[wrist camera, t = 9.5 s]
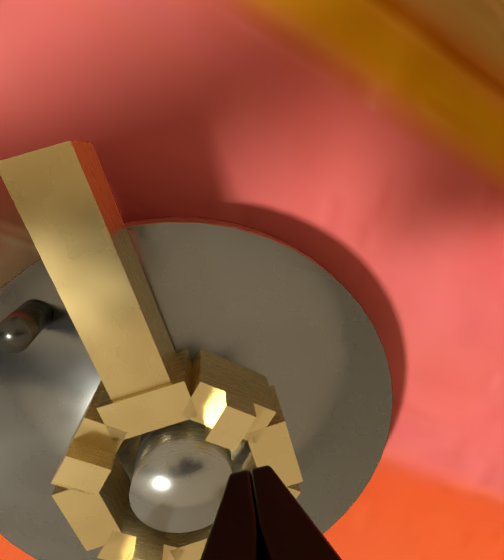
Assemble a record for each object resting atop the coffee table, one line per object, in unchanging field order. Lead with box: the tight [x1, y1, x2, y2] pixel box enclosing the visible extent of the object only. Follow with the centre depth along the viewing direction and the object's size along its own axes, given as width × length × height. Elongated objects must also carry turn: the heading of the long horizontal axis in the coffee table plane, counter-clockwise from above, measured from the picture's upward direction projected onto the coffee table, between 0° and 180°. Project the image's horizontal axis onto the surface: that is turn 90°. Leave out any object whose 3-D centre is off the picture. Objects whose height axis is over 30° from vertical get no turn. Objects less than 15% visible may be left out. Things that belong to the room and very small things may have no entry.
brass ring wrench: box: [0, 140, 303, 560], centre depth 14 cm, size 18×9×3 cm, turn 15°
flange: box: [0, 217, 393, 560], centre depth 17 cm, size 20×20×4 cm
